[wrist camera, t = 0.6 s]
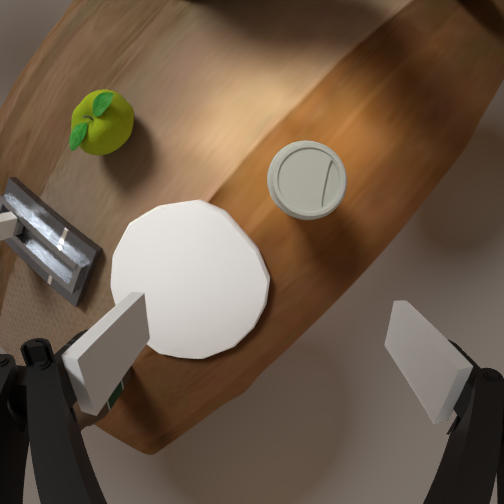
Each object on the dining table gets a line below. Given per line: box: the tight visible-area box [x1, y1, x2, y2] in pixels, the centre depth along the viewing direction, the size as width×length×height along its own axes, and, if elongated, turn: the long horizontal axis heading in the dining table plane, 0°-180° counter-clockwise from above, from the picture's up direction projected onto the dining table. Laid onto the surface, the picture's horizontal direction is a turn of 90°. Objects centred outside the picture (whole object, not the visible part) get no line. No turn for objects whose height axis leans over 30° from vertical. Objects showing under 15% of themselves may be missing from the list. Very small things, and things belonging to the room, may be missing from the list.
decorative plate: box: [111, 199, 270, 359], centre depth 42 cm, size 25×4×25 cm
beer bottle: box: [73, 368, 131, 432], centre depth 37 cm, size 8×8×24 cm
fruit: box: [69, 90, 134, 155], centre depth 34 cm, size 9×9×10 cm
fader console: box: [0, 177, 102, 307], centre depth 42 cm, size 26×12×4 cm, turn 57°
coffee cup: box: [267, 141, 347, 220], centre depth 34 cm, size 8×8×12 cm
